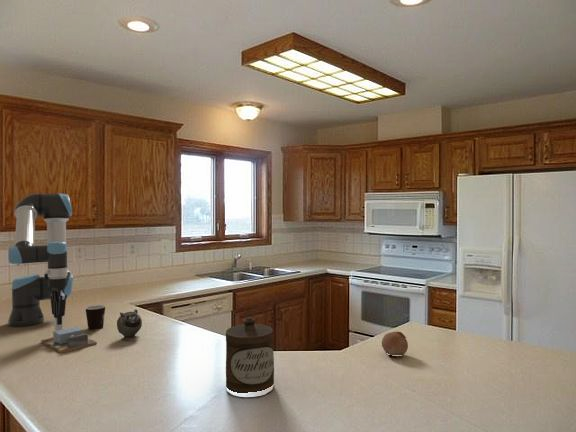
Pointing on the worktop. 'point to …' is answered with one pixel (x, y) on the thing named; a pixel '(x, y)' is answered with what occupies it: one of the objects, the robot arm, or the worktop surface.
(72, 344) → the base
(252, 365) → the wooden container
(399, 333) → the brown round lump
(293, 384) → the worktop surface
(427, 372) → the worktop surface
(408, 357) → the worktop surface
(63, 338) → the block
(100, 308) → the coffee mug
